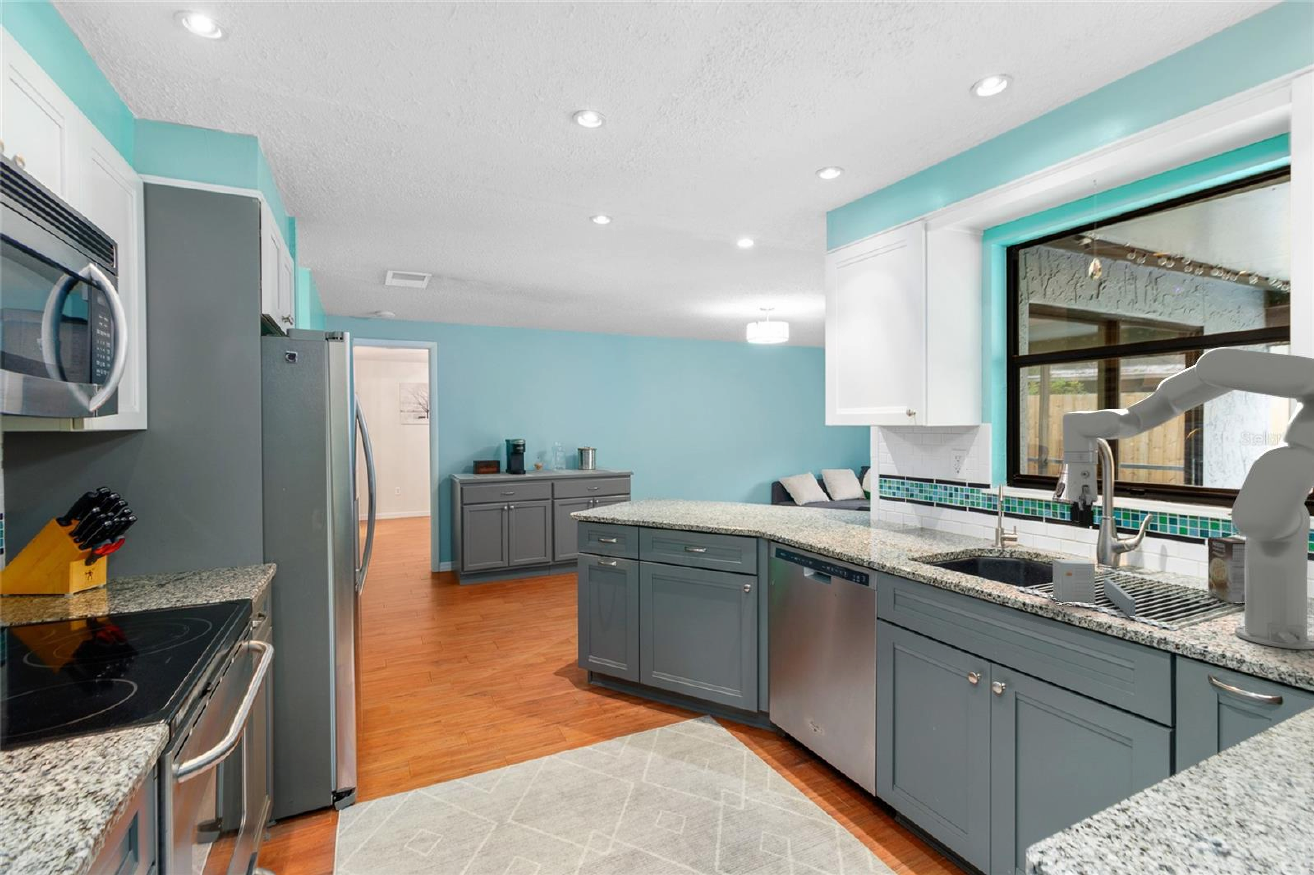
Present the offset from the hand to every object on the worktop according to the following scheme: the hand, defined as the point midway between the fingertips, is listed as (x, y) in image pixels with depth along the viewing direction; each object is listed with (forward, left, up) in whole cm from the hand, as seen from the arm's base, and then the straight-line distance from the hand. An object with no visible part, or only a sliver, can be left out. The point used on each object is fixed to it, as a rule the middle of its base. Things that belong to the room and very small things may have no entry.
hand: (1081, 523), depth 164 cm
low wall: (0, -8, -21) cm, 22 cm away
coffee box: (+18, -37, -21) cm, 46 cm away
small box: (0, +2, -21) cm, 21 cm away
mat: (0, +2, -21) cm, 21 cm away
